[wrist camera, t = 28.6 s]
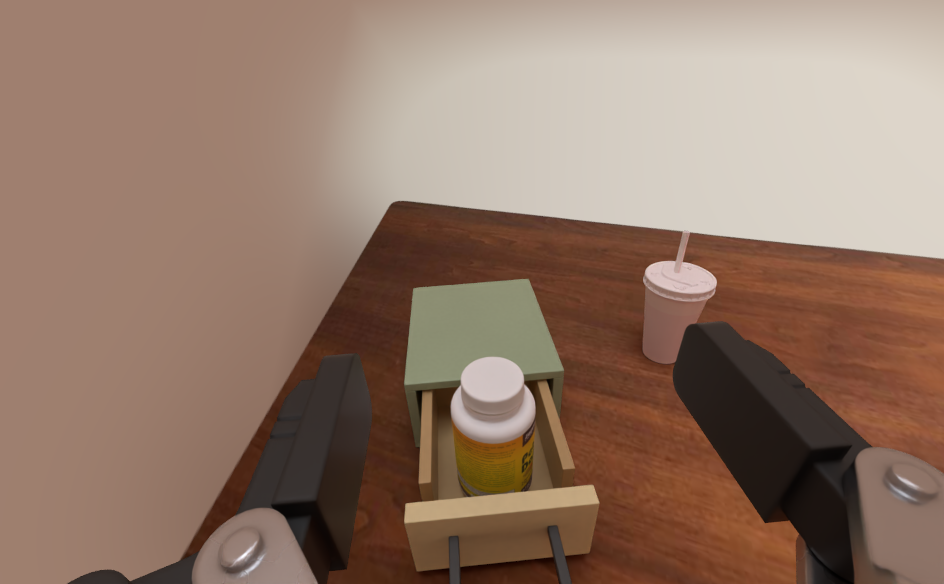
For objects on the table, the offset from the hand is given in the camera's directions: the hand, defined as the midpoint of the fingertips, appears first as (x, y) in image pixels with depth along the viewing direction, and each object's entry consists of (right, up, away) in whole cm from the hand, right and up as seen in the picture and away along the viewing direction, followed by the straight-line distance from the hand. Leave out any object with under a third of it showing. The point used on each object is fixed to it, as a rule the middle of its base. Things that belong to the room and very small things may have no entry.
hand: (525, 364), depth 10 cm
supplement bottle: (0, -12, +20) cm, 24 cm away
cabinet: (0, -8, +32) cm, 33 cm away
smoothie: (+19, -5, +34) cm, 40 cm away
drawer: (0, -14, +20) cm, 24 cm away
